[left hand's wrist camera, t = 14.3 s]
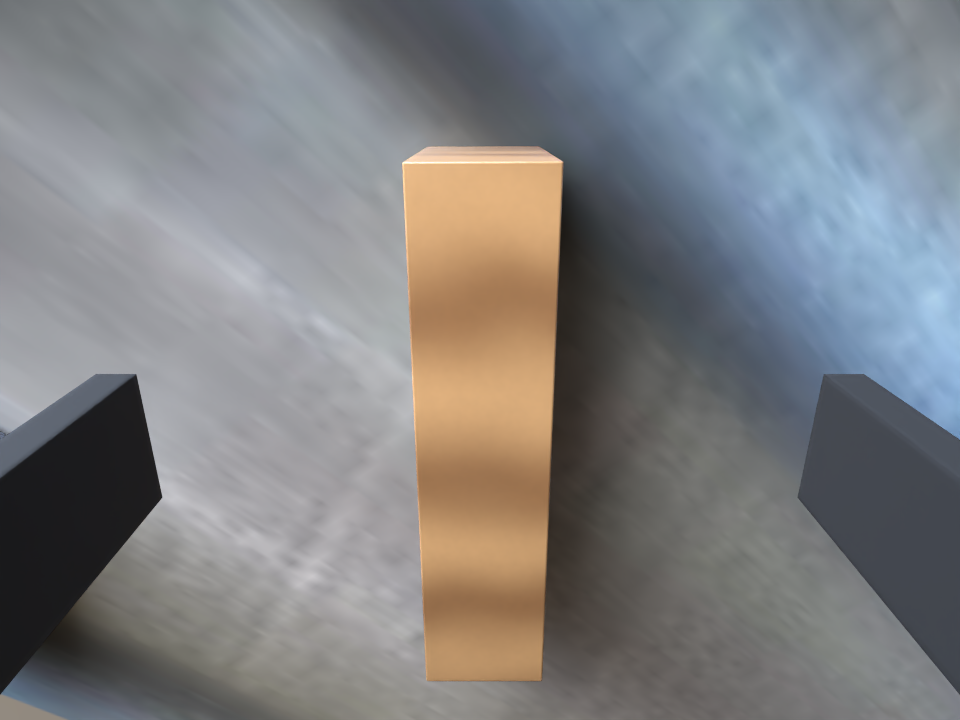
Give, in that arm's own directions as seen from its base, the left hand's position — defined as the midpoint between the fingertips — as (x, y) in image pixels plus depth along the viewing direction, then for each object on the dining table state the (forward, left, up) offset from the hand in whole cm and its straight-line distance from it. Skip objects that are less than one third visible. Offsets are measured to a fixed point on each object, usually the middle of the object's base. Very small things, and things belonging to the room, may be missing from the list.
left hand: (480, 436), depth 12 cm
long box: (+5, -7, -24) cm, 26 cm away
